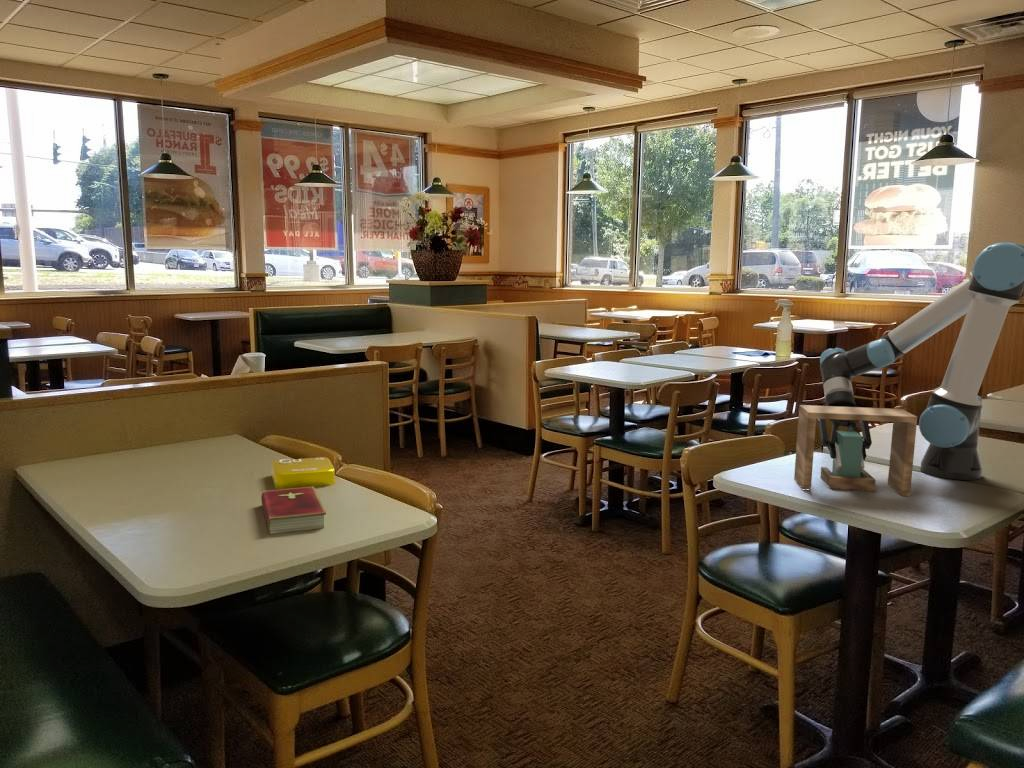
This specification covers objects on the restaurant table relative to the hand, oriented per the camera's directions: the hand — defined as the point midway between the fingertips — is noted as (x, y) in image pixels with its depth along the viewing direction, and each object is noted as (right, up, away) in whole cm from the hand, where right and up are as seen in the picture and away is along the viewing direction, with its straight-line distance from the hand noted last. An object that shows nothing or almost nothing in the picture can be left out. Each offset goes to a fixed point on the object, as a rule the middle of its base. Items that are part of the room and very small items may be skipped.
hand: (850, 468), depth 203 cm
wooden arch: (0, -5, +1) cm, 5 cm away
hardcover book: (-138, -8, -30) cm, 142 cm away
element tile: (-144, -3, 0) cm, 144 cm away
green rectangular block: (+1, -3, +4) cm, 5 cm away
